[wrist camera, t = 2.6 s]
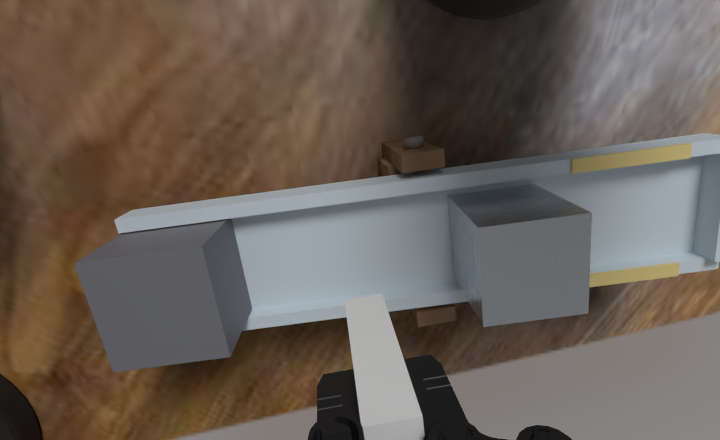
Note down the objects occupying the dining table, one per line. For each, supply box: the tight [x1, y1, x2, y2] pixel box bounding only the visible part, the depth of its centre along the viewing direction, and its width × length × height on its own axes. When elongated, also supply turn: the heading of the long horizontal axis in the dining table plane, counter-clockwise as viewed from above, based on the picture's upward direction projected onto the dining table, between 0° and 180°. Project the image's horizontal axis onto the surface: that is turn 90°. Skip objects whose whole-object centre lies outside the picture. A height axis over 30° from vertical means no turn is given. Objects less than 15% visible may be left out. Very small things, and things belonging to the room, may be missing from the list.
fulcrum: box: [378, 136, 456, 328], centre depth 27 cm, size 3×12×6 cm, turn 7°
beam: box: [74, 133, 720, 372], centre depth 23 cm, size 34×8×6 cm, turn 97°
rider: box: [447, 184, 592, 327], centre depth 22 cm, size 5×5×6 cm
